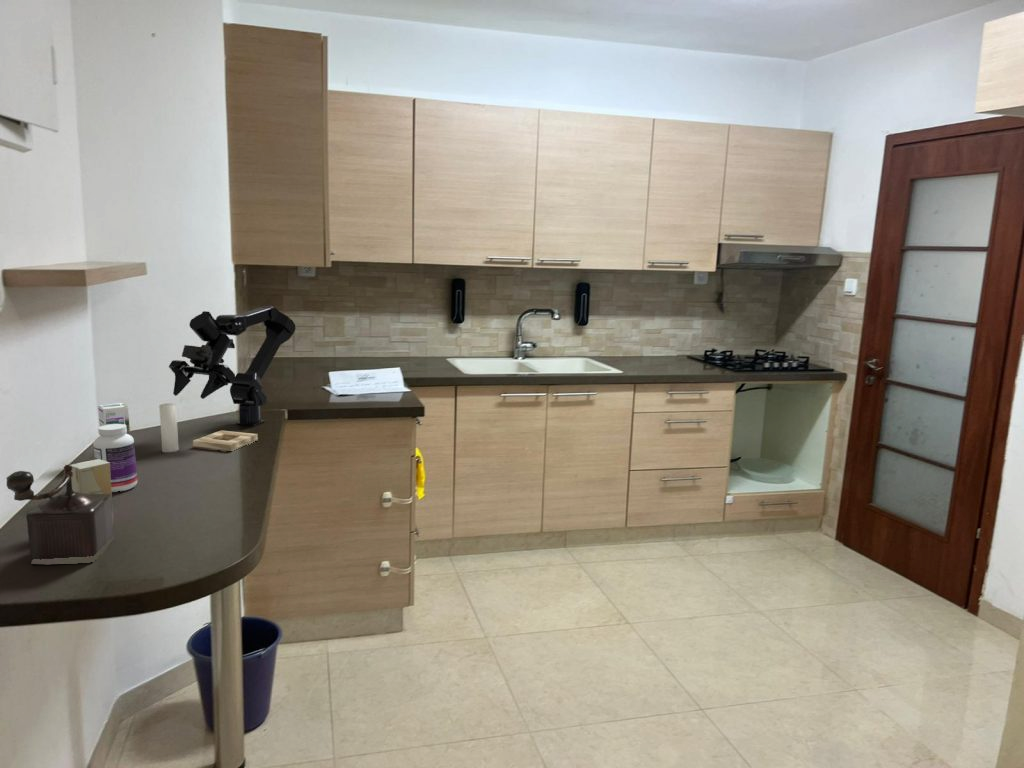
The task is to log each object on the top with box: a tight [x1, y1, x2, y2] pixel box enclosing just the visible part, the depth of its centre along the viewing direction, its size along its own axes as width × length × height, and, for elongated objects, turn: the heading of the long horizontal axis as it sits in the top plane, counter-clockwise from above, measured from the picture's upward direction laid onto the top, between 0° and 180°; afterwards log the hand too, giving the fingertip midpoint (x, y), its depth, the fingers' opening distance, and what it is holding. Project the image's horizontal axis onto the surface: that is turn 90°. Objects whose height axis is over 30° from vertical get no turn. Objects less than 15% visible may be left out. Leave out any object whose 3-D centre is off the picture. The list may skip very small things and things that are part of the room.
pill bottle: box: [92, 424, 138, 493], centre depth 162 cm, size 8×8×14 cm
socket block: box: [192, 430, 259, 452], centre depth 200 cm, size 12×12×2 cm
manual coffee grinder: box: [6, 463, 115, 561], centre depth 125 cm, size 16×11×18 cm
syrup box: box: [97, 402, 131, 435], centre depth 182 cm, size 6×6×14 cm
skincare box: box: [70, 459, 114, 518], centre depth 142 cm, size 6×4×12 cm
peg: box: [158, 402, 180, 453], centre depth 192 cm, size 4×4×12 cm
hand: (188, 396), depth 198 cm, fingers open, 9 cm apart
